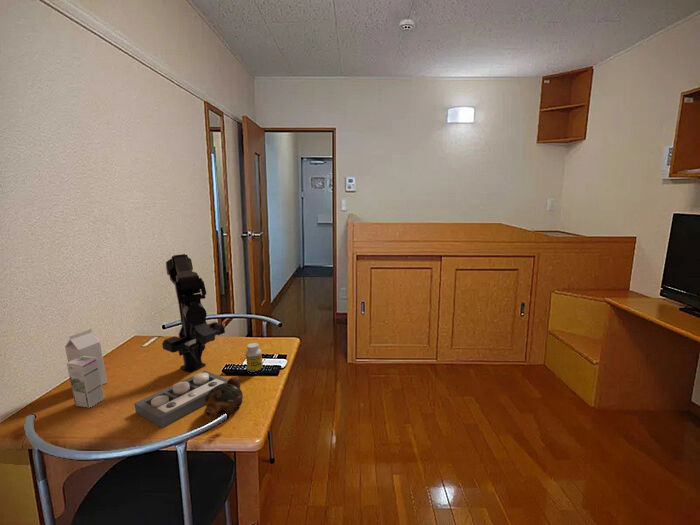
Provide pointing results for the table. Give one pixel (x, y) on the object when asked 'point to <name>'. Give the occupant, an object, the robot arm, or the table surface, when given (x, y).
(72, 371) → the syrup box
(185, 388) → the button
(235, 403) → the decorative turtle
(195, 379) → the button
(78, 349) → the milk carton
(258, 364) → the supplement bottle
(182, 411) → the board
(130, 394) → the table surface
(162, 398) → the button
